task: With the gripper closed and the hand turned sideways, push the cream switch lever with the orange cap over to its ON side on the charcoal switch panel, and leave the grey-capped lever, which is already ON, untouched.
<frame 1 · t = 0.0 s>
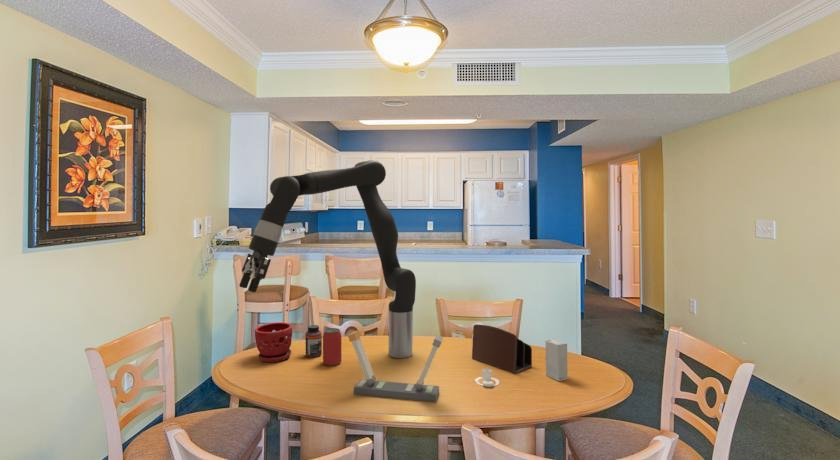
hand: (246, 289, 125), 31 cm above the table, tool tilted 20°, fingers open, 8 cm apart
switch panel: (396, 393, 127), on the table
plant pot: (274, 358, 157), on the table
skincare box: (556, 378, 140), on the table
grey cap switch: (428, 363, 125), point 10 cm above the table, hinge at -22.0°
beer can: (332, 363, 152), on the table
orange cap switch: (362, 358, 129), point 10 cm above the table, hinge at 22.0°
letter holder: (501, 364, 154), on the table
supplement bottle: (313, 356, 160), on the table
teacup and saucer: (478, 385, 135), on the table
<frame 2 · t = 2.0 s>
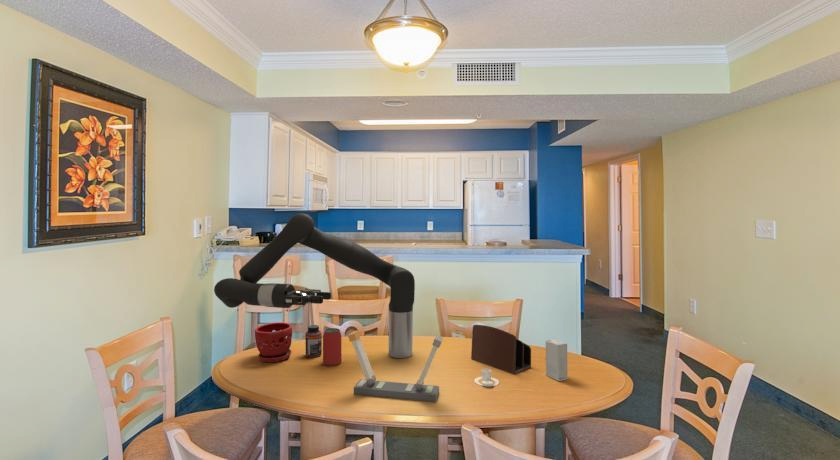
hand: (326, 297, 130), 28 cm above the table, tool horizontal, fingers open, 5 cm apart
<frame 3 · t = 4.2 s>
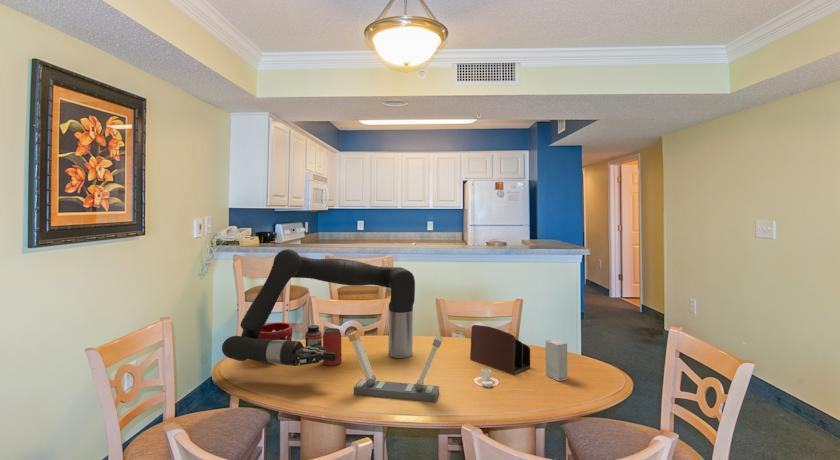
hand: (336, 356, 130), 10 cm above the table, tool horizontal, fingers closed
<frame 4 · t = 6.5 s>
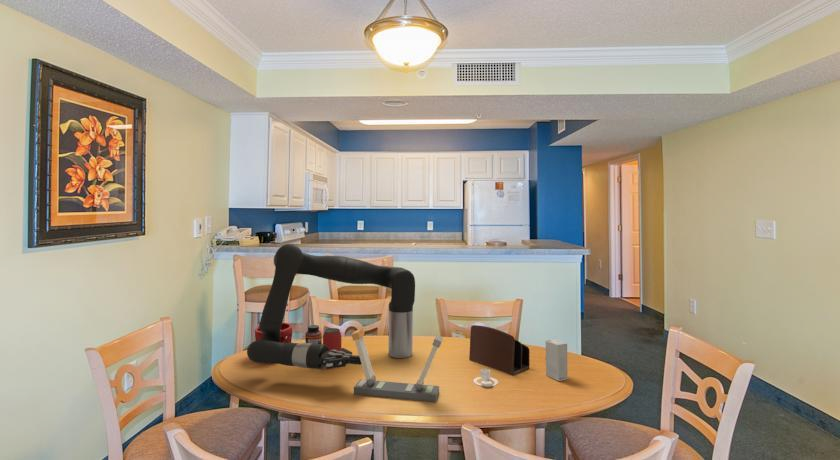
hand: (362, 360, 129), 9 cm above the table, tool horizontal, fingers closed
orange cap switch: (364, 357, 129), point 10 cm above the table, hinge at 17.3°, touching gripper
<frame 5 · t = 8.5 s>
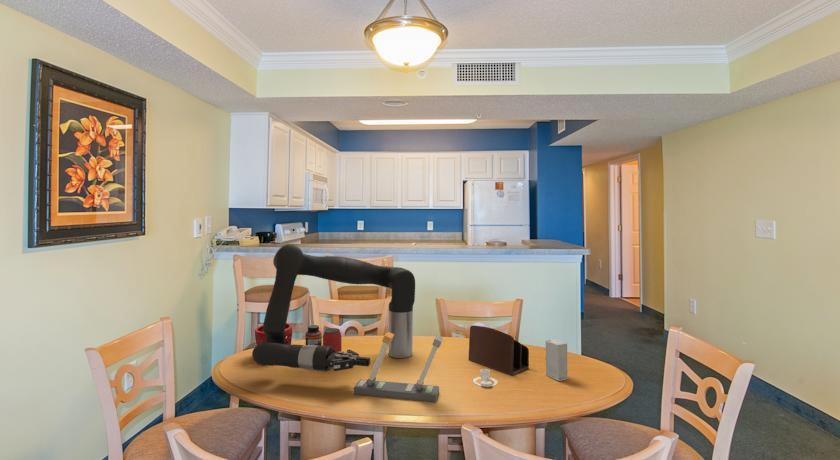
hand: (369, 362, 128), 9 cm above the table, tool horizontal, fingers closed
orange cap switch: (379, 359, 128), point 10 cm above the table, hinge at -21.5°
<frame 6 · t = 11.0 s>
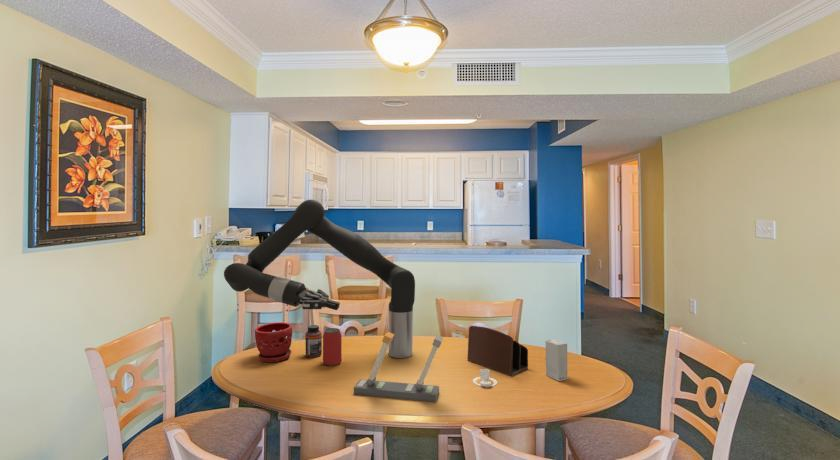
hand: (338, 306, 131), 25 cm above the table, tool horizontal, fingers closed
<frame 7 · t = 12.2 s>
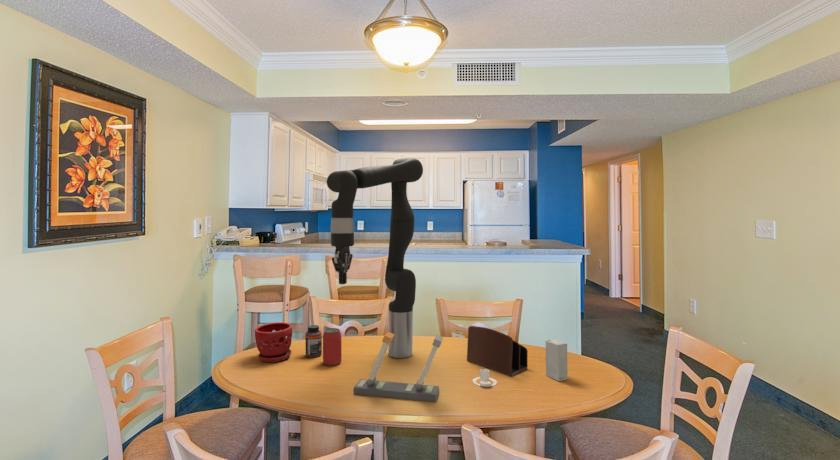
hand: (342, 283, 140), 31 cm above the table, tool pointing down, fingers closed
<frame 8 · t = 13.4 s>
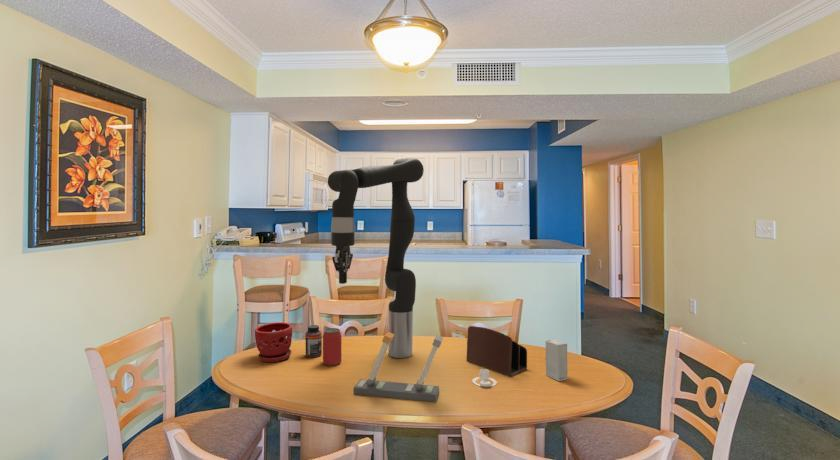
hand: (342, 283, 140), 31 cm above the table, tool pointing down, fingers closed
at the end: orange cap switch at -22° (first picture: +22°); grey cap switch at -22° (first picture: -22°) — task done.
